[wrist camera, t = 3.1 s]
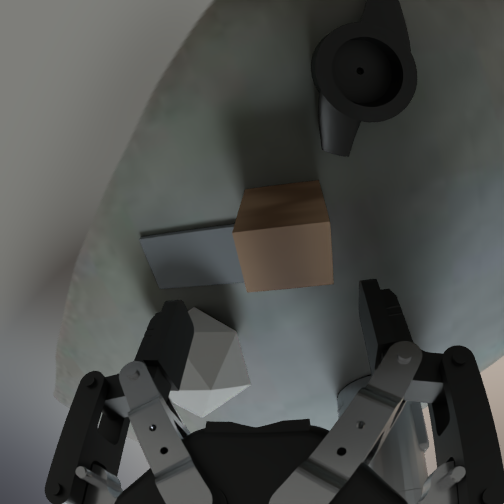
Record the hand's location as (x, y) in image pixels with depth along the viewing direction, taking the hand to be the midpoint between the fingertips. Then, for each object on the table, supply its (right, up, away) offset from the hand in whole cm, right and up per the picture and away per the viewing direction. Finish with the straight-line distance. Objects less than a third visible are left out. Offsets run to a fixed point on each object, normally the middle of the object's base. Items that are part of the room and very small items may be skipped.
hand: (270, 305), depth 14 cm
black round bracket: (+6, +14, +3) cm, 15 cm away
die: (-5, -5, +16) cm, 17 cm away
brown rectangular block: (+2, +5, +8) cm, 10 cm away
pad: (-5, +2, +11) cm, 12 cm away
